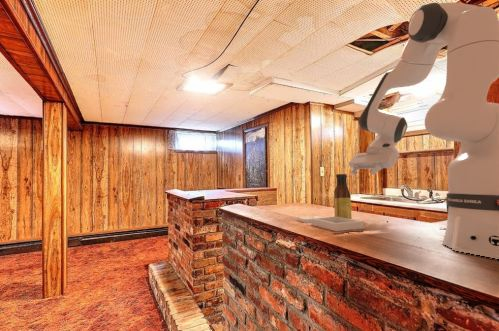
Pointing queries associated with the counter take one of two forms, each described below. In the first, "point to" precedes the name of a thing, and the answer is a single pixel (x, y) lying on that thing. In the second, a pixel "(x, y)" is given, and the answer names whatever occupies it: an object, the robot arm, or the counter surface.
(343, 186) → the sauce bottle
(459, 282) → the counter surface
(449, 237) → the robot arm
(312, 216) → the tile
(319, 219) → the bin
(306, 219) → the tile
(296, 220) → the slate board
